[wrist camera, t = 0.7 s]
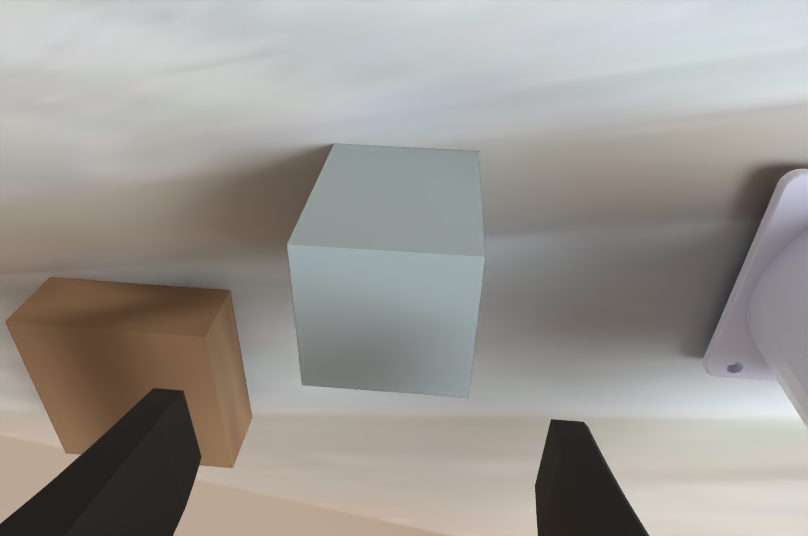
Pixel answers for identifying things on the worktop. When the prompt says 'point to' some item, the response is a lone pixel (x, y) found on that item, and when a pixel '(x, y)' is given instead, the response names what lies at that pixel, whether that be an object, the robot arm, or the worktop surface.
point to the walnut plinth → (134, 358)
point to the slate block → (390, 270)
